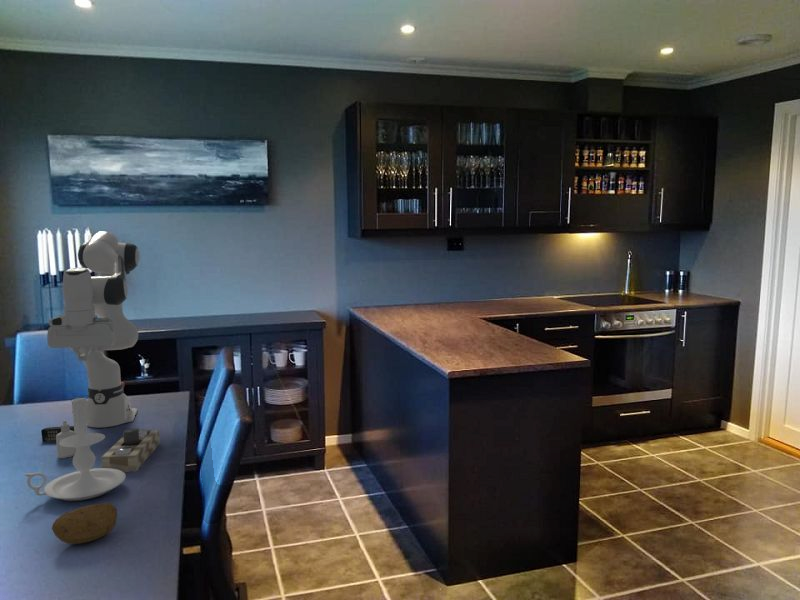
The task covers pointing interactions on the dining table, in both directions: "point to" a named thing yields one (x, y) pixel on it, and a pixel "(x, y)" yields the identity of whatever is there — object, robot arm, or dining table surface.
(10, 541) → the dining table surface
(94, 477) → the candlestick
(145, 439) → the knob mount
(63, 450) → the eye dropper bottle
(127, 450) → the steel knob
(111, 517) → the potato
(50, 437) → the mobile phone
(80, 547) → the dining table surface
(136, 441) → the black knob middle
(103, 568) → the dining table surface
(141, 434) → the steel knob
